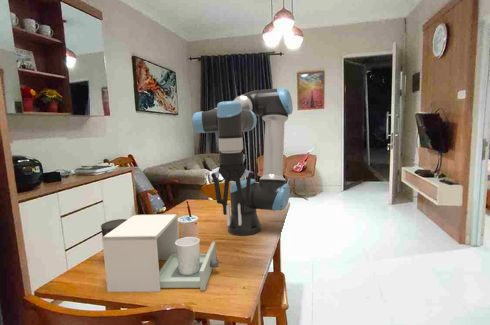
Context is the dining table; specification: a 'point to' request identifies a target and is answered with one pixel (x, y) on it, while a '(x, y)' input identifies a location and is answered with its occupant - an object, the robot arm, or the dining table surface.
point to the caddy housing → (139, 252)
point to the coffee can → (111, 226)
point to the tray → (174, 279)
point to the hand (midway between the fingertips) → (234, 224)
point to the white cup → (188, 255)
